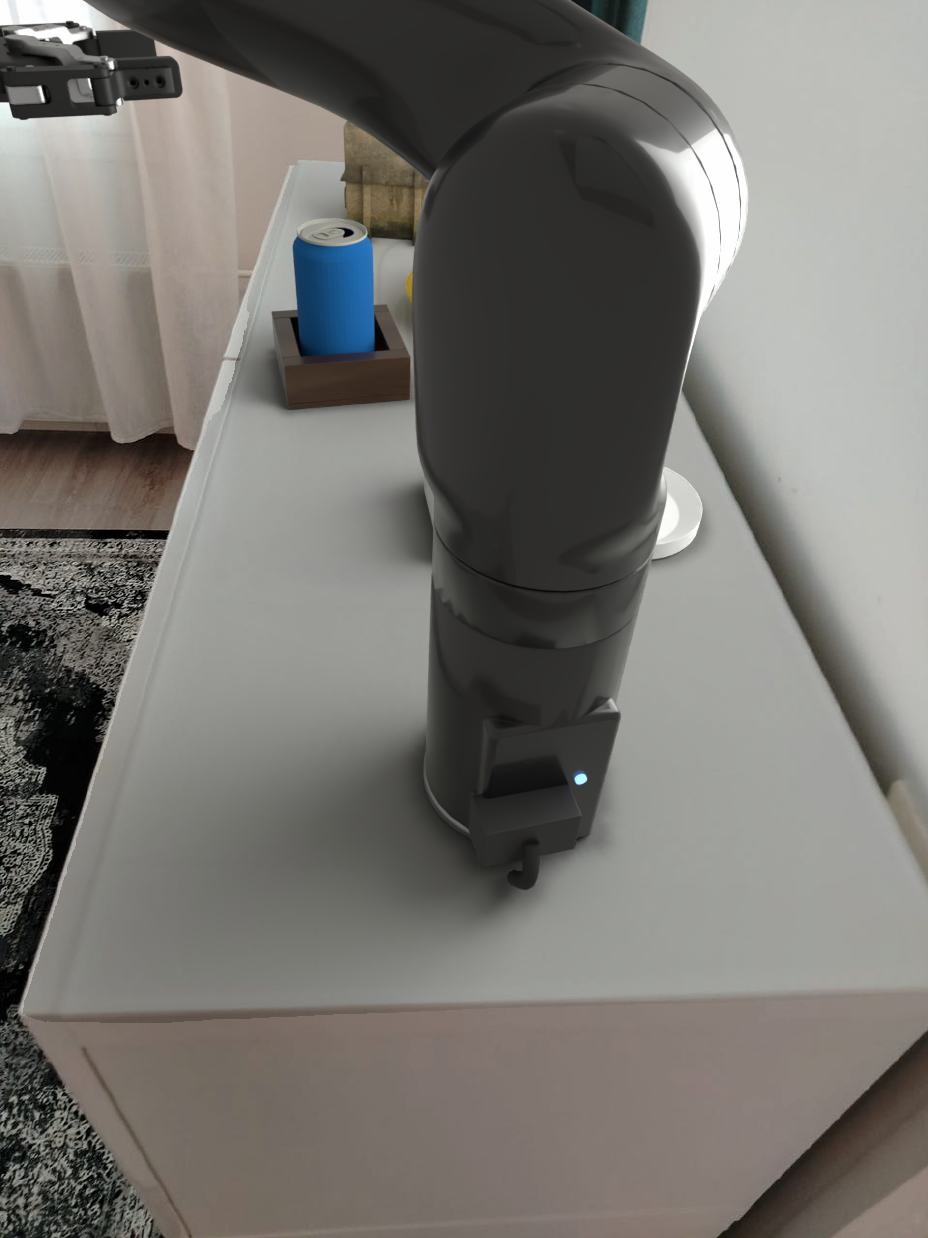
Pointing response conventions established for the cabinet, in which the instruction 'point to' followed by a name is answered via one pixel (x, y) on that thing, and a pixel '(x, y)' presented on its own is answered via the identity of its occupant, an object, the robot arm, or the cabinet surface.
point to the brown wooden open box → (342, 366)
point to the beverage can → (334, 287)
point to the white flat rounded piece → (676, 520)
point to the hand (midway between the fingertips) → (166, 61)
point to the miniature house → (380, 187)
